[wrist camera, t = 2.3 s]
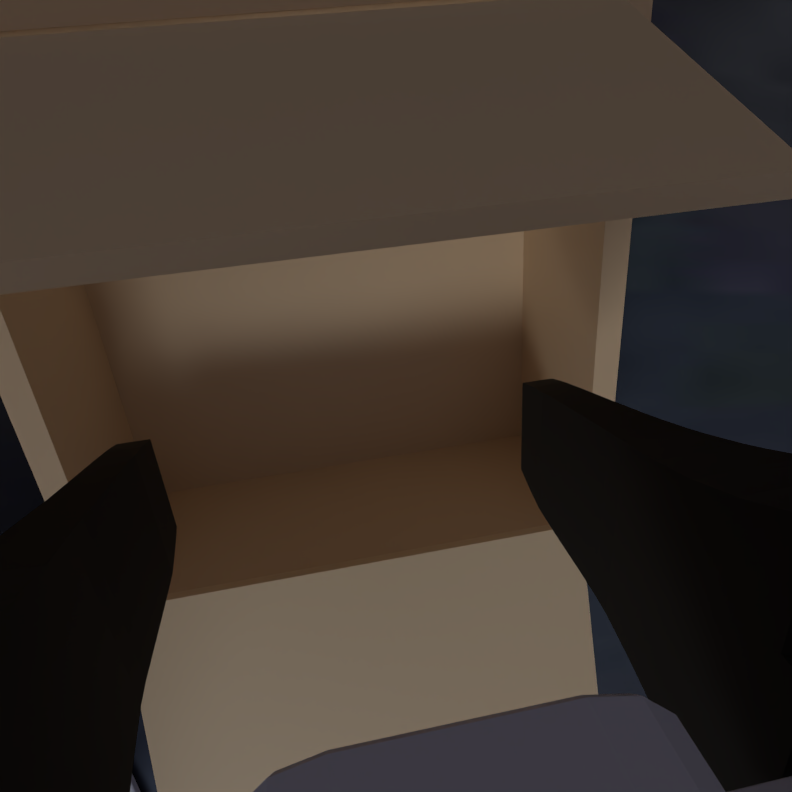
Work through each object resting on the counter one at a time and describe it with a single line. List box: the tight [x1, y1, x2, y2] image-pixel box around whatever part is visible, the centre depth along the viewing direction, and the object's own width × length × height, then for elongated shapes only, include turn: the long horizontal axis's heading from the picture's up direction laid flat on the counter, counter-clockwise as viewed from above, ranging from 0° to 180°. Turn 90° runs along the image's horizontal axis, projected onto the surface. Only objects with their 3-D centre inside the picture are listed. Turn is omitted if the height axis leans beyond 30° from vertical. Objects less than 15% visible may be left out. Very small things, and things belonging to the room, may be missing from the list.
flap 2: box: [141, 524, 598, 792], centre depth 16 cm, size 6×11×1 cm, turn 94°
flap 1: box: [0, 0, 792, 295], centre depth 8 cm, size 6×11×1 cm
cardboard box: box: [0, 0, 653, 594], centre depth 15 cm, size 13×13×5 cm
